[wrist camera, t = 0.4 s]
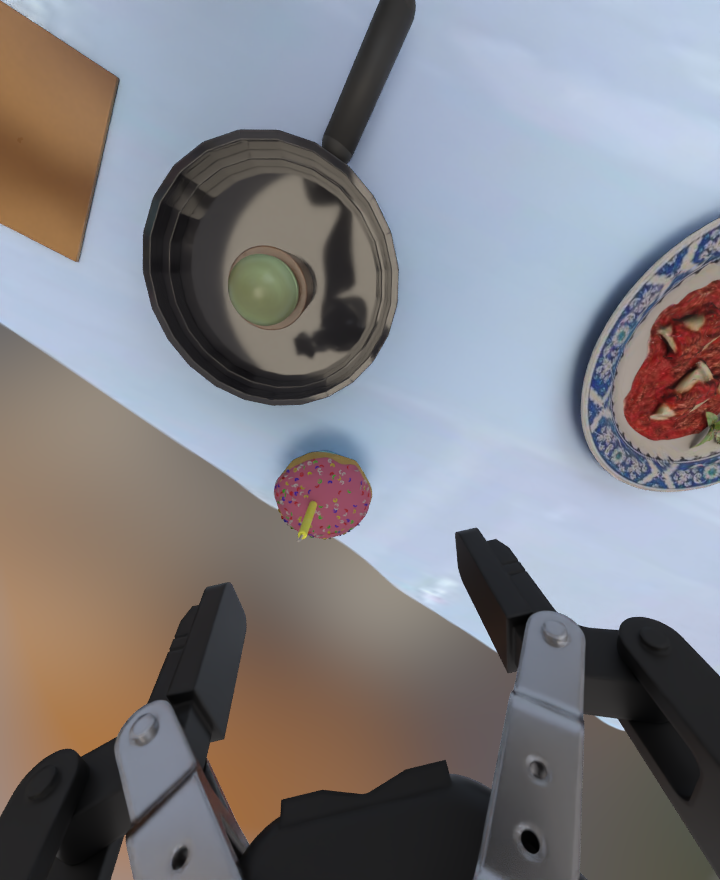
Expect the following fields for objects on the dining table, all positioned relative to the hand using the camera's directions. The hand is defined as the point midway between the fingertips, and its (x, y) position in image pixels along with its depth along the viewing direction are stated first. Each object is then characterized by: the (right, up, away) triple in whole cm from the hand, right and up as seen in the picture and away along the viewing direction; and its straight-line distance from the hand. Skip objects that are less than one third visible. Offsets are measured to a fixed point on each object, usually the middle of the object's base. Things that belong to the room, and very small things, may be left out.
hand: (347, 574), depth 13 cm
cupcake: (-3, +2, +24) cm, 24 cm away
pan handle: (+1, +26, +9) cm, 28 cm away
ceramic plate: (+33, +12, +21) cm, 41 cm away
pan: (-6, +17, +16) cm, 24 cm away
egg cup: (-6, +17, +15) cm, 23 cm away
